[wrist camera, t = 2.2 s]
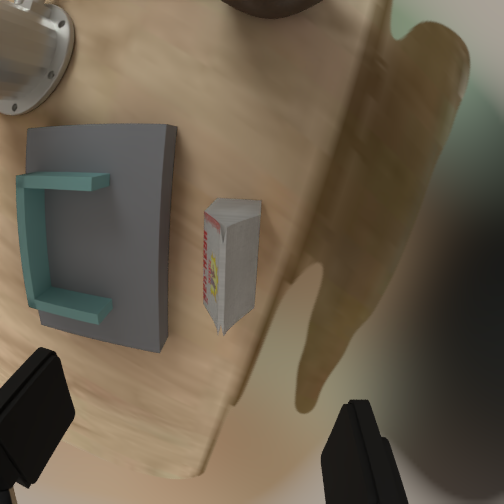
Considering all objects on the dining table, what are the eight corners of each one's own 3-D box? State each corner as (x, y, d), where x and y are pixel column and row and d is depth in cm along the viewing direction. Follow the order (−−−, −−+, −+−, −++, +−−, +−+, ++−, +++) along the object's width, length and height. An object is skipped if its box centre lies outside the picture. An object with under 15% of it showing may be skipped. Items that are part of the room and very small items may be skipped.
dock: (46, 128, 25) (6, 129, 19) (177, 126, 25) (153, 121, 19) (55, 312, 31) (26, 338, 25) (167, 336, 31) (150, 372, 25)
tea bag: (261, 200, 27) (259, 230, 17) (256, 276, 29) (252, 338, 19) (217, 197, 27) (190, 225, 17) (215, 273, 29) (192, 333, 19)
